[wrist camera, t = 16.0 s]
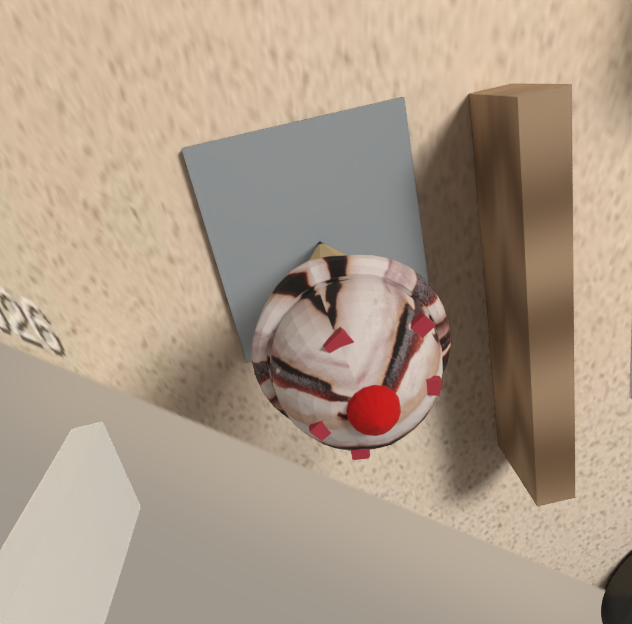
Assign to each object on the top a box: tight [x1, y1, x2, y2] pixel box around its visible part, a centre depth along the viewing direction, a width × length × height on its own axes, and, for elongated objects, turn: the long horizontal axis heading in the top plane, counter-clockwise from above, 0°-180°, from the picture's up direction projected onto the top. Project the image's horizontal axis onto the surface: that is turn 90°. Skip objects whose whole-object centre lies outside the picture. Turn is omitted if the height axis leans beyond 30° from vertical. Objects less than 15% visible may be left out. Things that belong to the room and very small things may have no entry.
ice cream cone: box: [251, 241, 451, 460], centre depth 19 cm, size 6×6×15 cm
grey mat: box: [182, 97, 428, 362], centre depth 26 cm, size 11×10×1 cm
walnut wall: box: [469, 84, 575, 506], centre depth 25 cm, size 20×2×5 cm, turn 12°
